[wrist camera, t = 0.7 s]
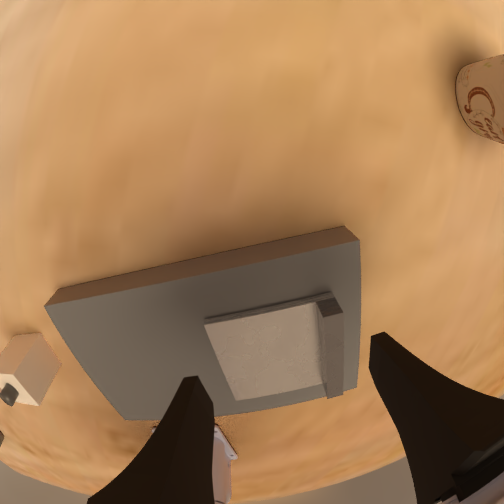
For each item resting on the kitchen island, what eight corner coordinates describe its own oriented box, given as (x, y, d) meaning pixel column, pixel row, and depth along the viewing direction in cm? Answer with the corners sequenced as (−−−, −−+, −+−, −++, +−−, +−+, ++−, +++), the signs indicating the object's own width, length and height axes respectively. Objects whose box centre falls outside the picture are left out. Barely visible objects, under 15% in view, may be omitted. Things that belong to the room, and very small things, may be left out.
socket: (348, 368, 24) (356, 387, 21) (130, 401, 24) (125, 420, 22) (344, 225, 18) (359, 240, 16) (58, 289, 19) (43, 306, 16)
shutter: (335, 373, 20) (343, 394, 18) (235, 394, 20) (236, 416, 18) (331, 291, 17) (343, 312, 15) (204, 319, 17) (201, 342, 15)
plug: (61, 363, 22) (33, 417, 15) (33, 363, 22) (6, 411, 15) (41, 332, 20) (5, 386, 14) (14, 335, 21) (-19, 382, 14)
